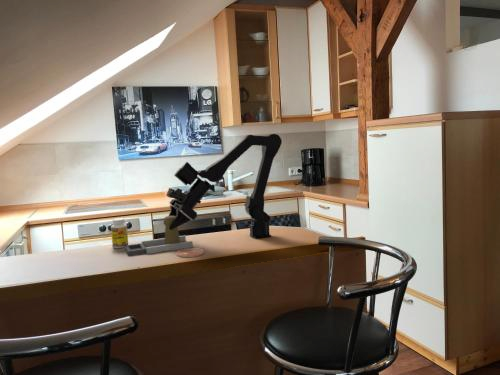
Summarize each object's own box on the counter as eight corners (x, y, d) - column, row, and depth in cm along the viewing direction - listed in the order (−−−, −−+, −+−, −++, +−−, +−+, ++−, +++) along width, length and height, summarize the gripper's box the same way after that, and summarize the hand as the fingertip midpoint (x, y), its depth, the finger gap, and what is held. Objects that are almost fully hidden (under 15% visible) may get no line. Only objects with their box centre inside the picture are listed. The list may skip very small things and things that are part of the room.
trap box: (142, 247, 150) (142, 243, 150) (146, 253, 141) (146, 248, 141) (125, 249, 147) (124, 245, 147) (128, 255, 139) (128, 251, 139)
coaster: (199, 248, 145) (199, 246, 144) (207, 254, 136) (207, 252, 136) (173, 252, 141) (173, 250, 141) (180, 258, 133) (180, 257, 133)
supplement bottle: (110, 249, 149) (108, 221, 148) (115, 245, 155) (112, 218, 153) (126, 248, 149) (124, 220, 148) (130, 244, 155) (128, 217, 154)
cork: (179, 248, 146) (177, 217, 145) (162, 248, 147) (160, 218, 145) (182, 243, 152) (180, 214, 151) (166, 244, 153) (164, 214, 151)
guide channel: (185, 240, 157) (184, 235, 157) (192, 247, 147) (192, 241, 146) (141, 246, 151) (141, 241, 150) (147, 253, 141) (146, 248, 140)
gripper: (173, 177, 157) (145, 209, 154) (185, 181, 140) (155, 217, 137) (194, 196, 161) (168, 227, 158) (209, 202, 144) (180, 237, 141)
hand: (167, 227), depth 148 cm, fingers open, 7 cm apart
